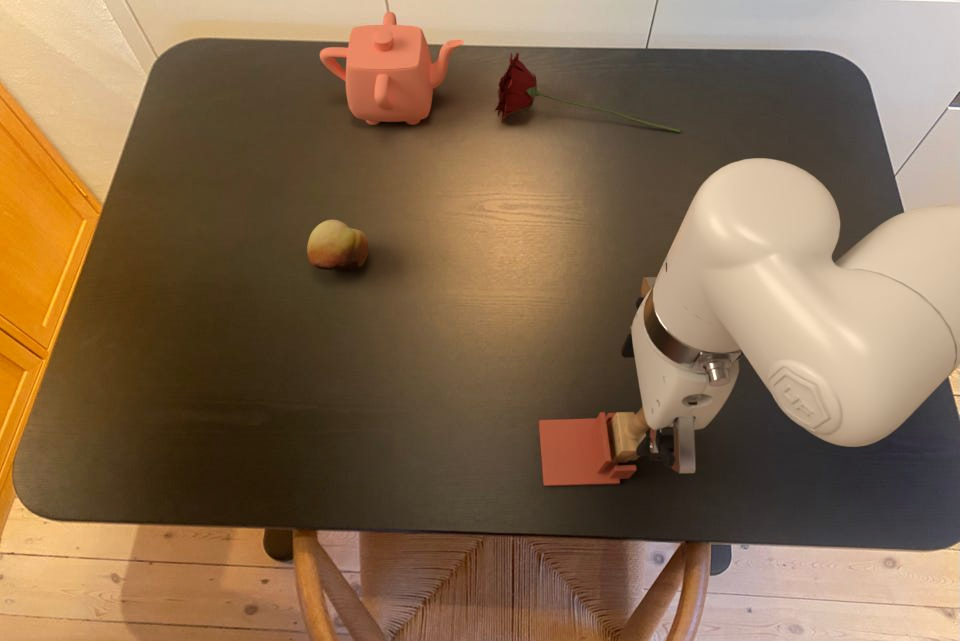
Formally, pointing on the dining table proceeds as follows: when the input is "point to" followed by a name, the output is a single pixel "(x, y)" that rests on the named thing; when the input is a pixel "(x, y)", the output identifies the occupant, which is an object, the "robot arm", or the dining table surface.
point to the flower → (534, 93)
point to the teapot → (389, 71)
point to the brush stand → (579, 452)
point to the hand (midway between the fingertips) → (644, 401)
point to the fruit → (337, 246)
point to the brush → (626, 435)
